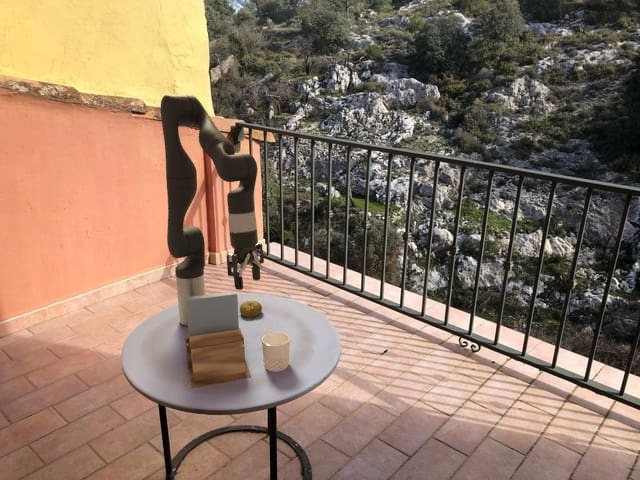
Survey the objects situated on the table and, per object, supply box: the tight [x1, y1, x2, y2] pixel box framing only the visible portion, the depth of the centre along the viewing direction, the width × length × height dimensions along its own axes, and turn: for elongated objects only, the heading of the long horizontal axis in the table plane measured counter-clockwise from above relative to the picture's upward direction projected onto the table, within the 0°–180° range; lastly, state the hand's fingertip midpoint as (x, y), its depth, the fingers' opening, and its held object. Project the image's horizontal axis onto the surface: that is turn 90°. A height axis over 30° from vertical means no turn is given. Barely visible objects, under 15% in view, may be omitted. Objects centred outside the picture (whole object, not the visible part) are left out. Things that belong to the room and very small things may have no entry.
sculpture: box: [239, 300, 263, 318], centre depth 171 cm, size 8×4×8 cm
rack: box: [184, 327, 252, 389], centre depth 135 cm, size 16×16×8 cm
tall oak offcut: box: [190, 328, 243, 370], centre depth 135 cm, size 3×14×10 cm, turn 109°
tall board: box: [186, 290, 240, 342], centre depth 137 cm, size 2×14×20 cm, turn 109°
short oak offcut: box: [191, 341, 246, 381], centre depth 132 cm, size 3×14×8 cm, turn 109°
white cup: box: [261, 331, 291, 373], centre depth 136 cm, size 8×8×10 cm
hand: (248, 284), depth 135 cm, fingers open, 8 cm apart
